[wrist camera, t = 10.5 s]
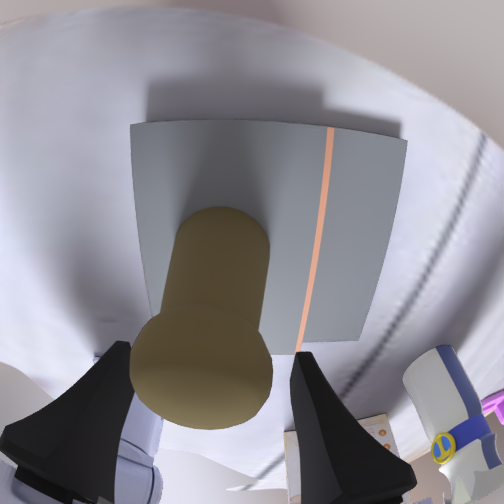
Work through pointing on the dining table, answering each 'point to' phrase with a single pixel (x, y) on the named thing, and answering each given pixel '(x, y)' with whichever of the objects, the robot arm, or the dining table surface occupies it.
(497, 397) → the bracket
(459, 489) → the white spray bottle
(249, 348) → the cork
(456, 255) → the dining table surface
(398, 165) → the stepped stand
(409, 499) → the coffeecake box
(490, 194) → the dining table surface
